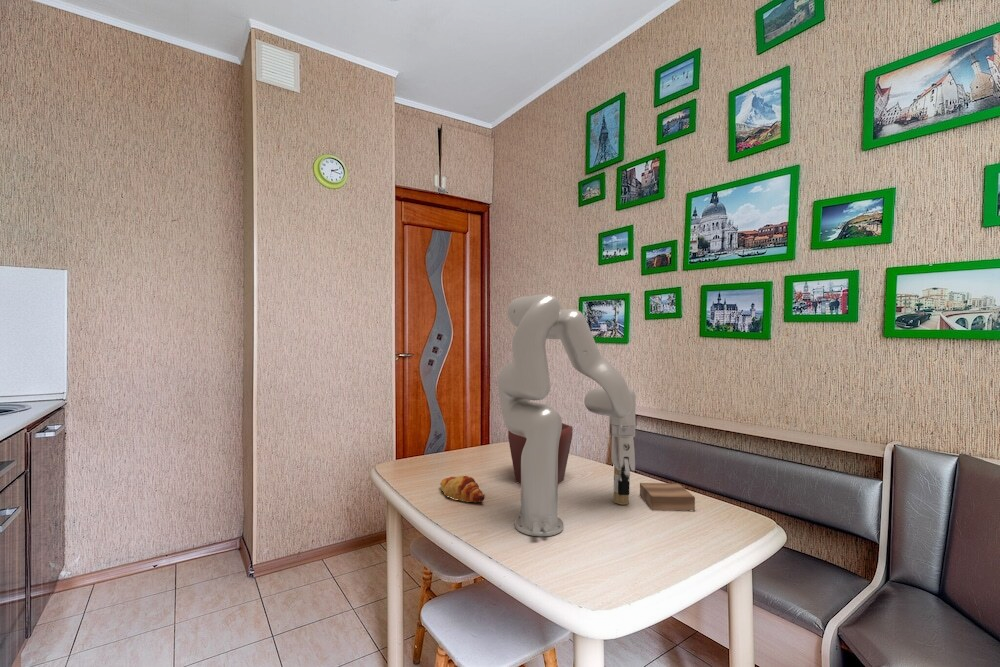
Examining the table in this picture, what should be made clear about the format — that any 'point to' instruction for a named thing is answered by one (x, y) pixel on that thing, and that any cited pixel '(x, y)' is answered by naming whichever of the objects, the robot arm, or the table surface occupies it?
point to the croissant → (462, 489)
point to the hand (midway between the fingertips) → (621, 491)
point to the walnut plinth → (666, 496)
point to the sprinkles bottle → (617, 498)
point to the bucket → (563, 451)
